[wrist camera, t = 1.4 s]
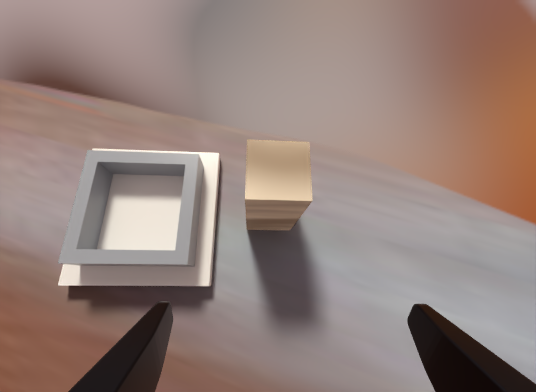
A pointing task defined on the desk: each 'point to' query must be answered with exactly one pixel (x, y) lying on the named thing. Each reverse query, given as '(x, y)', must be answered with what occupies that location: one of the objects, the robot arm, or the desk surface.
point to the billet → (276, 183)
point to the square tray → (142, 219)
